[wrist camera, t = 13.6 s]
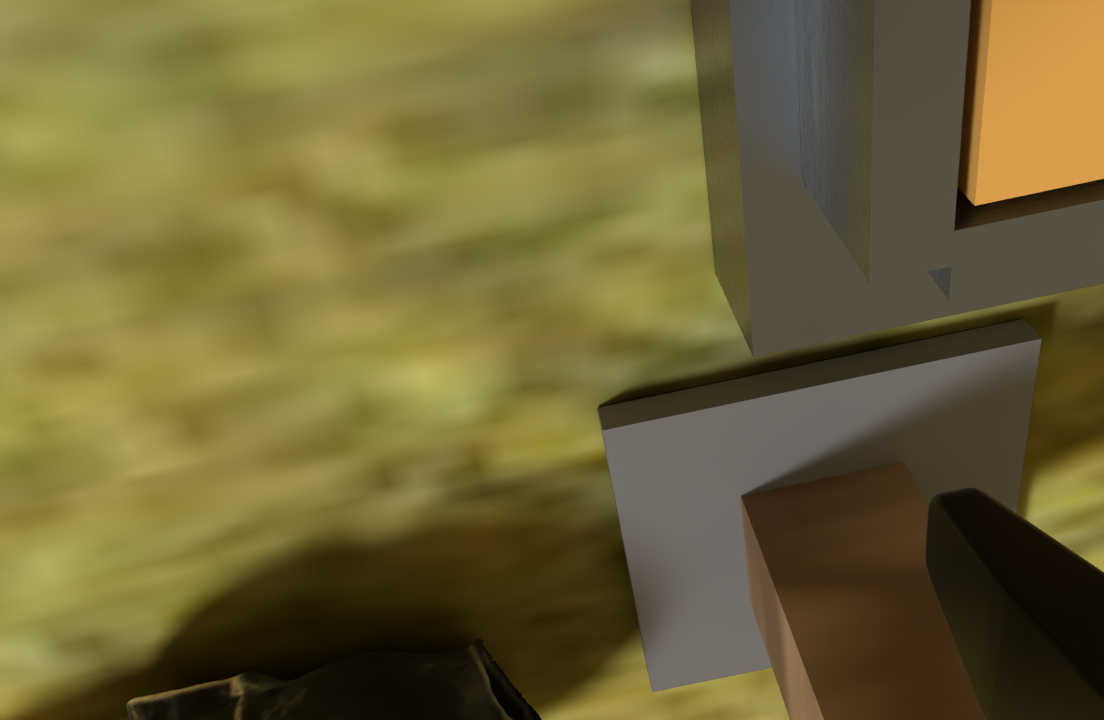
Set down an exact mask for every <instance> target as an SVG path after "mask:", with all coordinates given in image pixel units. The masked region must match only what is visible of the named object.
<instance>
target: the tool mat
mask: <svg viewBox="0 0 1104 720" xmlns="http://www.w3.org/2000/svg"><path fill="white" fill-rule="evenodd" d="M1041 340H1042V339H1041V337H1040V336H1039V335H1038V334H1037V333H1036V331H1035V330H1034V329H1033V328H1032V327H1031V325H1030V324H1029V323H1028V322H1027V321H1026V320H1025V319H1020V320H1015V321H1010V322H1006V323H1001V324H996V325H991V326H987V327H982V328H977V329H972V330H967V331H963V332H958V333H953V334H948V335H944V336H939V337H934V338H929V339H924V340H920V341H915V342H910V343H905V344H901V345H896V346H891V347H886V348H882V349H877V350H872V351H867V352H862V353H858V354H853V355H848V356H843V357H839V358H834V359H829V360H824V361H819V362H815V363H810V364H805V365H800V366H796V367H791V368H786V369H781V370H776V371H772V372H767V373H762V374H757V375H753V376H748V377H743V378H738V379H734V380H729V381H724V382H719V383H714V384H710V385H705V386H700V387H695V388H691V389H686V390H681V391H676V392H671V393H667V394H662V395H657V396H652V397H648V398H643V399H638V400H633V401H628V402H624V403H619V404H614V405H609V406H605V407H600V408H597V409H598V415H599V420H600V425H601V430H602V436H603V441H604V446H605V451H606V456H607V462H608V467H609V472H610V477H611V483H612V488H613V493H614V498H615V503H616V509H617V514H618V519H619V524H620V530H621V535H622V540H623V545H624V551H625V556H626V561H627V566H628V571H629V577H630V582H631V587H632V592H633V598H634V603H635V608H636V613H637V619H638V624H639V629H640V634H641V639H642V645H643V650H644V655H645V660H646V666H647V670H648V675H649V679H650V684H651V688H652V692H655V691H660V690H665V689H670V688H675V687H680V686H684V685H689V684H694V683H699V682H704V681H709V680H714V679H718V678H723V677H728V676H733V675H738V674H743V673H747V672H752V671H757V670H762V669H767V668H772V665H771V662H770V659H769V656H768V653H767V650H766V647H765V644H764V642H763V639H762V636H761V633H760V630H759V627H758V624H757V621H756V618H755V615H754V612H753V609H752V607H751V604H750V597H749V586H748V574H747V563H746V551H745V540H744V528H743V516H742V505H741V496H742V495H747V494H752V493H756V492H761V491H766V490H771V489H776V488H780V487H785V486H790V485H795V484H800V483H804V482H809V481H814V480H819V479H824V478H829V477H833V476H838V475H843V474H848V473H853V472H857V471H862V470H867V469H872V468H877V467H881V466H886V465H891V464H896V463H901V462H904V463H905V465H906V466H907V468H908V470H909V472H910V473H911V475H912V477H913V479H914V480H915V482H916V484H917V486H918V487H919V489H920V491H921V493H922V494H923V496H924V498H925V500H926V502H927V503H928V505H929V501H930V500H931V498H932V497H933V496H934V495H936V494H938V493H943V492H948V491H953V490H958V489H962V488H969V487H972V488H977V489H979V490H982V491H983V492H985V493H987V494H988V495H990V496H991V497H992V498H994V499H995V500H997V501H998V502H1000V503H1001V504H1003V505H1004V506H1006V507H1007V508H1009V509H1010V510H1012V511H1013V512H1015V513H1016V514H1017V508H1018V501H1019V494H1020V487H1021V480H1022V473H1023V466H1024V459H1025V452H1026V445H1027V438H1028V431H1029V424H1030V417H1031V410H1032V403H1033V396H1034V389H1035V382H1036V375H1037V368H1038V361H1039V354H1040V347H1041Z"/></svg>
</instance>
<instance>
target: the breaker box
mask: <svg viewBox="0 0 1104 720" xmlns="http://www.w3.org/2000/svg"><path fill="white" fill-rule="evenodd" d="M690 1H691V12H692V23H693V34H694V45H695V56H696V67H697V78H698V89H699V100H700V111H701V122H702V133H703V144H704V155H705V166H706V177H707V188H708V199H709V210H710V221H711V232H712V243H713V254H714V265H715V274H716V276H717V278H718V280H719V283H720V285H721V287H722V289H723V291H724V294H725V296H726V298H727V300H728V302H729V305H730V307H731V309H732V311H733V313H734V316H735V318H736V320H737V322H738V324H739V327H740V329H741V331H742V333H743V335H744V338H745V340H746V342H747V344H748V346H749V349H750V351H751V353H752V355H753V357H755V356H760V355H765V354H770V353H774V352H779V351H784V350H789V349H793V348H798V347H803V346H808V345H812V344H817V343H822V342H827V341H832V340H836V339H841V338H846V337H851V336H855V335H860V334H865V333H870V332H874V331H879V330H884V329H889V328H894V327H898V326H903V325H908V324H913V323H917V322H922V321H927V320H932V319H937V318H941V317H946V316H951V315H956V314H960V313H965V312H970V311H975V310H979V309H984V308H989V307H994V306H999V305H1003V304H1008V303H1013V302H1018V301H1022V300H1027V299H1032V298H1037V297H1041V296H1046V295H1051V294H1056V293H1061V292H1065V291H1070V290H1075V289H1080V288H1084V287H1089V286H1094V285H1099V284H1103V283H1104V179H1100V180H1095V181H1091V182H1086V183H1081V184H1076V185H1072V186H1067V187H1062V188H1057V189H1053V190H1048V191H1043V192H1038V193H1034V194H1029V195H1024V196H1019V197H1015V198H1010V199H1005V200H1000V201H996V202H991V203H986V204H981V205H977V206H974V204H973V203H972V202H971V201H970V200H969V199H968V198H967V197H966V196H965V195H964V193H963V192H962V191H961V190H960V189H959V188H958V187H957V185H958V172H959V158H960V144H961V131H962V117H963V103H964V90H965V76H966V62H967V49H968V35H969V21H970V8H971V0H690Z"/></svg>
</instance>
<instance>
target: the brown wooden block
mask: <svg viewBox="0 0 1104 720" xmlns="http://www.w3.org/2000/svg"><path fill="white" fill-rule="evenodd" d="M741 505H742V516H743V528H744V540H745V551H746V563H747V574H748V586H749V597H750V604H751V607H752V609H753V612H754V615H755V618H756V621H757V624H758V627H759V630H760V633H761V636H762V639H763V642H764V644H765V647H766V650H767V653H768V656H769V659H770V662H771V665H772V668H773V671H774V674H775V677H776V679H777V682H778V685H779V688H780V691H781V694H782V697H783V700H784V703H785V706H786V709H787V712H788V715H789V717H790V720H985V718H984V716H983V713H982V711H981V708H980V706H979V703H978V701H977V698H976V696H975V693H974V691H973V688H972V685H971V683H970V680H969V678H968V675H967V673H966V670H965V667H964V665H963V662H962V660H961V657H960V655H959V652H958V649H957V647H956V644H955V642H954V639H953V637H952V634H951V631H950V629H949V626H948V624H947V621H946V618H945V616H944V613H943V611H942V608H941V606H940V603H939V600H938V598H937V595H936V593H935V590H934V588H933V585H932V582H931V580H930V577H929V574H928V570H927V565H926V559H925V547H926V532H927V517H928V506H929V505H928V503H927V502H926V500H925V498H924V496H923V494H922V493H921V491H920V489H919V487H918V486H917V484H916V482H915V480H914V479H913V477H912V475H911V473H910V472H909V470H908V468H907V466H906V465H905V463H904V462H901V463H896V464H891V465H886V466H881V467H877V468H872V469H867V470H862V471H857V472H853V473H848V474H843V475H838V476H833V477H829V478H824V479H819V480H814V481H809V482H804V483H800V484H795V485H790V486H785V487H780V488H776V489H771V490H766V491H761V492H756V493H752V494H747V495H742V496H741Z"/></svg>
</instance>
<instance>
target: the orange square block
mask: <svg viewBox="0 0 1104 720" xmlns="http://www.w3.org/2000/svg"><path fill="white" fill-rule="evenodd" d="M1100 179H1104V0H971V8H970V21H969V35H968V49H967V62H966V76H965V90H964V103H963V117H962V131H961V144H960V158H959V172H958V185H957V187H958V188H959V189H960V190H961V191H962V192H963V193H964V195H965V196H966V197H967V198H968V199H969V200H970V201H971V202H972V203H973V204H974V206H977V205H981V204H986V203H991V202H996V201H1000V200H1005V199H1010V198H1015V197H1019V196H1024V195H1029V194H1034V193H1038V192H1043V191H1048V190H1053V189H1057V188H1062V187H1067V186H1072V185H1076V184H1081V183H1086V182H1091V181H1095V180H1100Z"/></svg>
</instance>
